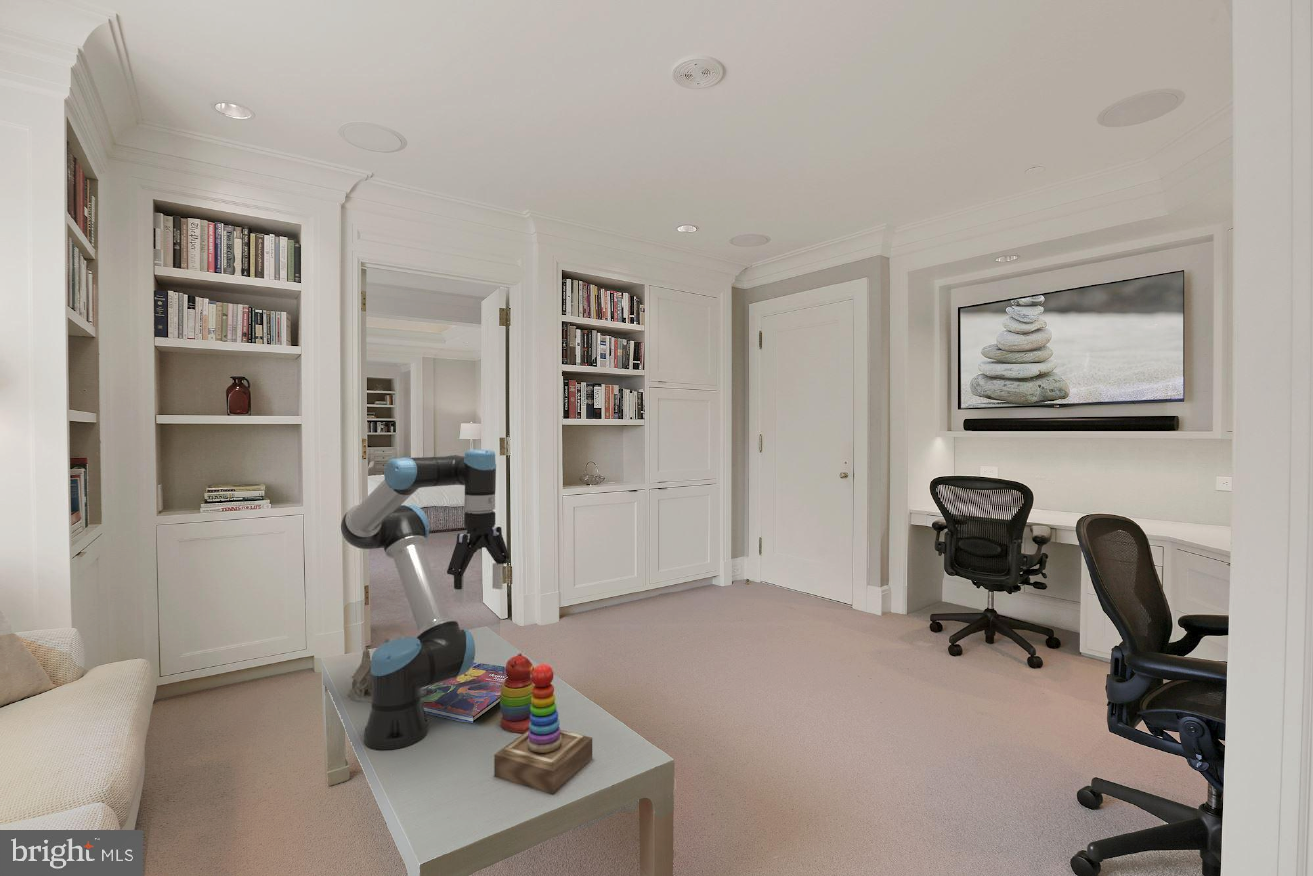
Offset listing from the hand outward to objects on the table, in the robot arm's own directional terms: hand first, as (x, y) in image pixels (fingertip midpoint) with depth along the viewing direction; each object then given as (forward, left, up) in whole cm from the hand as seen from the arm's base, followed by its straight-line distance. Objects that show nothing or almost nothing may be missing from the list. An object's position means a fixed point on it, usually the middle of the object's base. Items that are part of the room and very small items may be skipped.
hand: (479, 595), depth 157 cm
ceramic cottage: (-44, +8, -37) cm, 58 cm away
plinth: (+23, -4, -36) cm, 43 cm away
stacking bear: (+4, +11, -37) cm, 38 cm away
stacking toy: (+23, -4, -32) cm, 39 cm away
